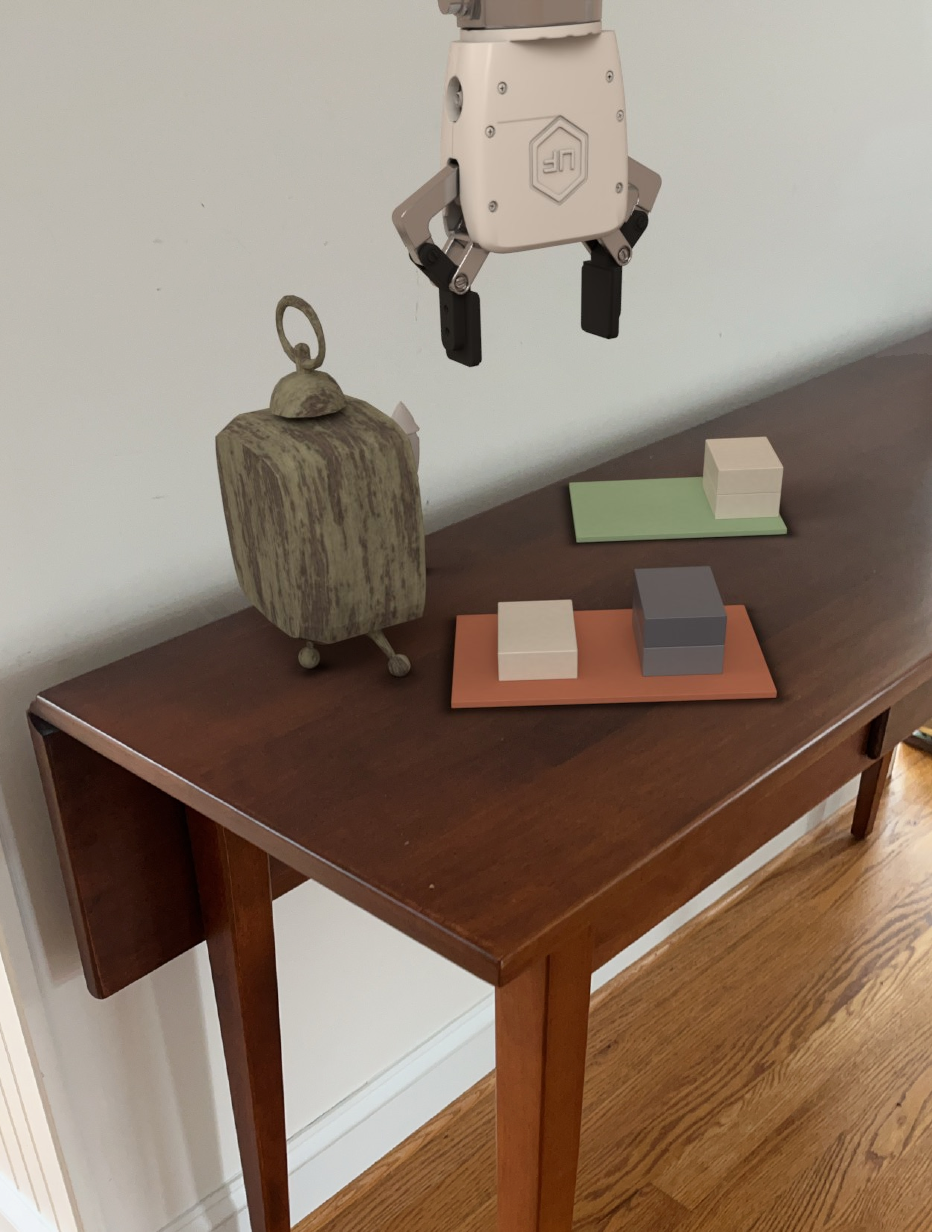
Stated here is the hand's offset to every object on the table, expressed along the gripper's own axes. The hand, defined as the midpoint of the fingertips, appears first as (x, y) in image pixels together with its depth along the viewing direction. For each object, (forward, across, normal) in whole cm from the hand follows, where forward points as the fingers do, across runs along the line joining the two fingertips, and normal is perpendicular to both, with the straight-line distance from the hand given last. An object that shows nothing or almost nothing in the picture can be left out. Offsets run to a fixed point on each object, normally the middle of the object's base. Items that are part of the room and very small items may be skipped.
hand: (533, 347), depth 75 cm
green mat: (+22, +28, +21) cm, 41 cm away
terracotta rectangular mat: (+22, +6, 0) cm, 23 cm away
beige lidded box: (+22, +33, +18) cm, 43 cm away
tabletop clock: (+22, -11, +11) cm, 27 cm away
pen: (+22, +2, +22) cm, 32 cm away
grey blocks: (+22, +10, -3) cm, 24 cm away
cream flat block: (+22, +2, +2) cm, 22 cm away
